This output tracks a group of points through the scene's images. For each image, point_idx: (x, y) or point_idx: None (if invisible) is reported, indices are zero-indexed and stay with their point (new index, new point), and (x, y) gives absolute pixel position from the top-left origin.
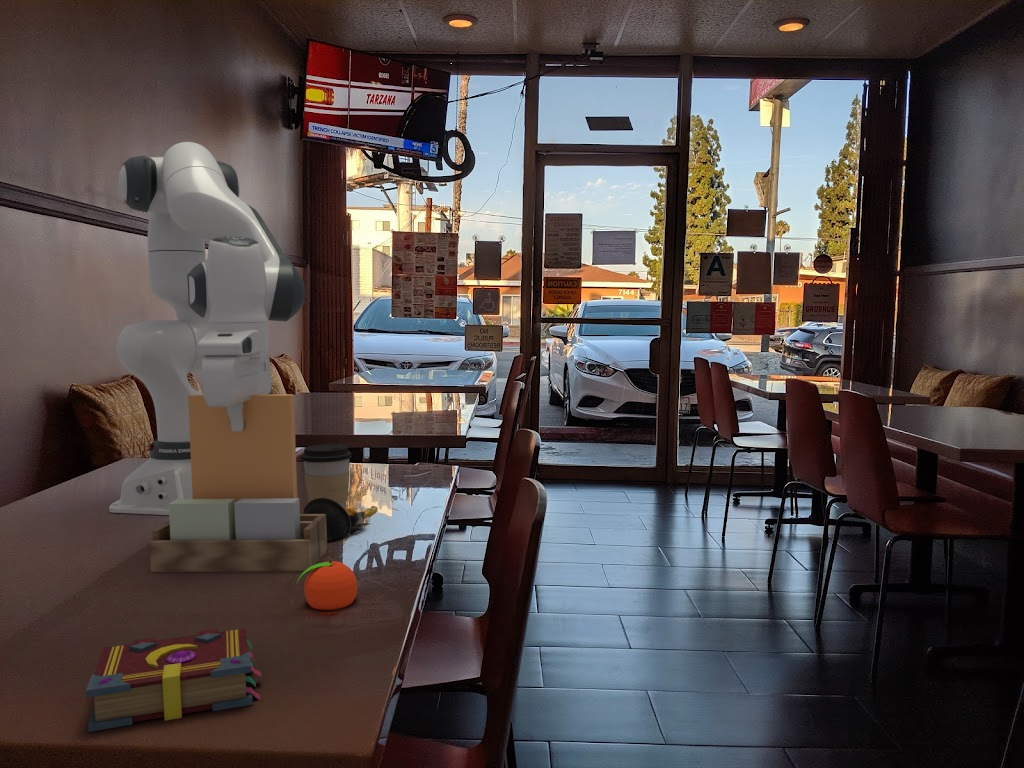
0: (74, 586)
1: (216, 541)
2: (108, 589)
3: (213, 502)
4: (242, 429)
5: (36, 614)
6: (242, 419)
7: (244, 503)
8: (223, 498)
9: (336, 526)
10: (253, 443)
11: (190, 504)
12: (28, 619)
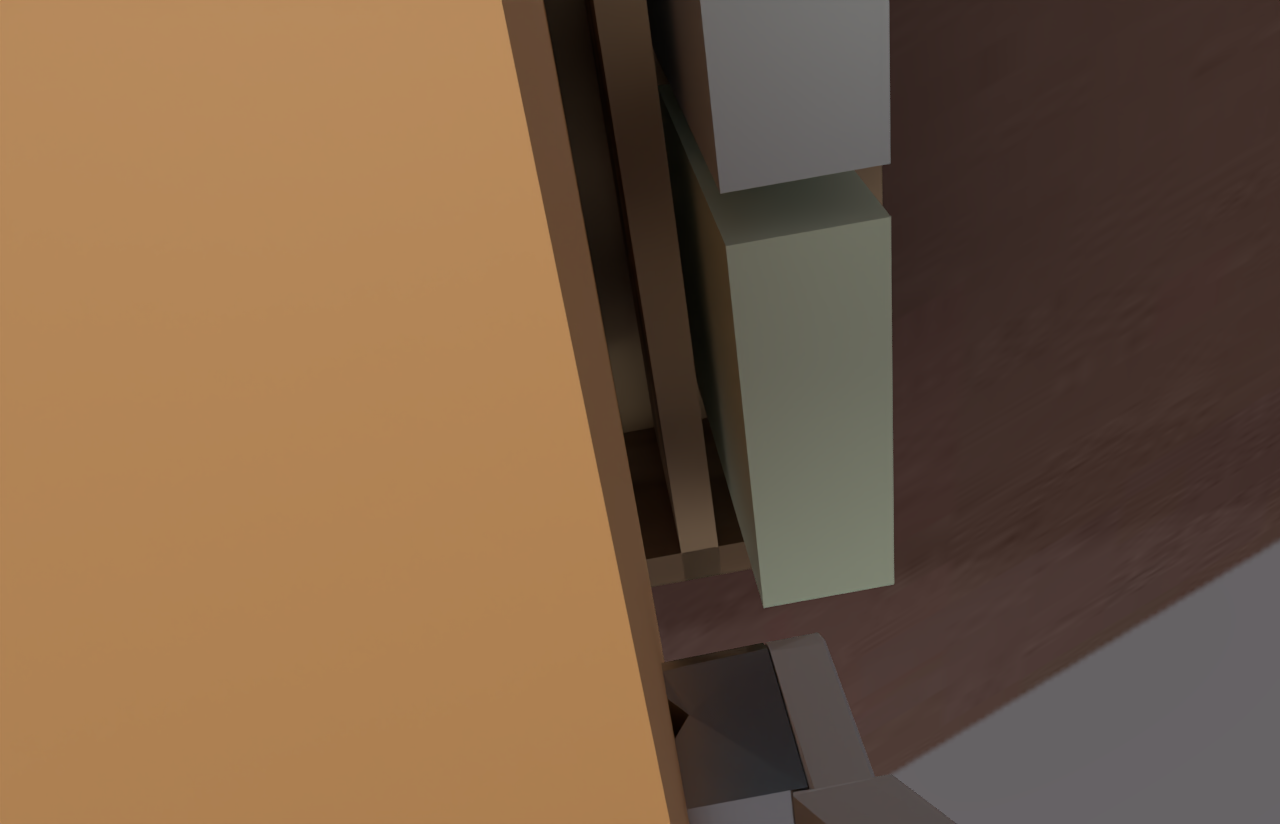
0: (891, 612)
1: (873, 172)
2: (929, 488)
3: (858, 339)
4: (820, 636)
5: (1179, 537)
6: (867, 783)
7: (886, 75)
8: (613, 383)
9: None
10: (615, 408)
11: (892, 463)
12: (1225, 528)
